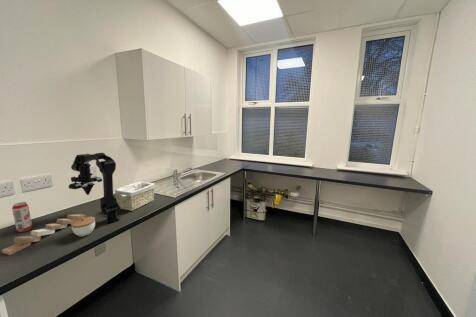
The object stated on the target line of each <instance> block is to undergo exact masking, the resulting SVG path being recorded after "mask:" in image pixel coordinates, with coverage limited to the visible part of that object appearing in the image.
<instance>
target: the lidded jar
mask: <svg viewBox="0 0 476 317" xmlns="http://www.w3.org/2000/svg"><path fill="white" fill-rule="evenodd" d="M70 226H71V230H72V232H73V234H74V235H76V236H78V237H86V236H89V235H91V234H92V232H93V230H95V227H96V217H94V216H86V217H82V218H79V219H76V220H74V221H73V222H72V223H71V224H70Z"/></svg>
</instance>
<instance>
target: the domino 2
mask: <svg viewBox="0 0 476 317" xmlns="http://www.w3.org/2000/svg"><path fill="white" fill-rule="evenodd" d="M55 232H56V229H54V230H49V229H45V228H40V229H35V230H33V229H32V230H31V231H30V235H33V236H41V237H42V236H47V235H52V234H55Z"/></svg>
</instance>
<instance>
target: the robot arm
mask: <svg viewBox="0 0 476 317" xmlns="http://www.w3.org/2000/svg"><path fill="white" fill-rule="evenodd" d="M100 160H101V161H100ZM92 161H95V165H96V167H97V168H98V169H99V172H100V173H101V174H102V177H100V176H94V177H92V176H93V173H92V172H91V166H92V165H91V163H90V162H92ZM116 167H117V162H116V161H115V160H114V159H113V158H112V157H111V156H109V155H107V154H105V152H97V153H93V154H92V153H82V154H81V153H80V154H76V156H75V158H74V160H73V163H72V164H71V166H70V168H71V170H72V171H74V172H79V174H78V175H77V176H72V177H70V181H71V182H72V183H70V184H69V185H68V189H71V190H79V189H81V188H82V191H84V193H85V194H86V195H87V196H89V195H90V193H91V192H92V189H93V187H94V186H95V182H97V183H100V182H102V185H103V187H102V188H103V197H101V198H100V199H99V202H100V211H101V213H102V215H103V216H104V215H106V218H105V222H106V224H108V225H109V224H112V223H115V222H118V221H120V218H119V217H118V211H121V208H120V206H119V204H118V203H117V199H116V196H114V185H113V184H114V180H113V179H114V178H113V174H114V173H115V171H116Z"/></svg>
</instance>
